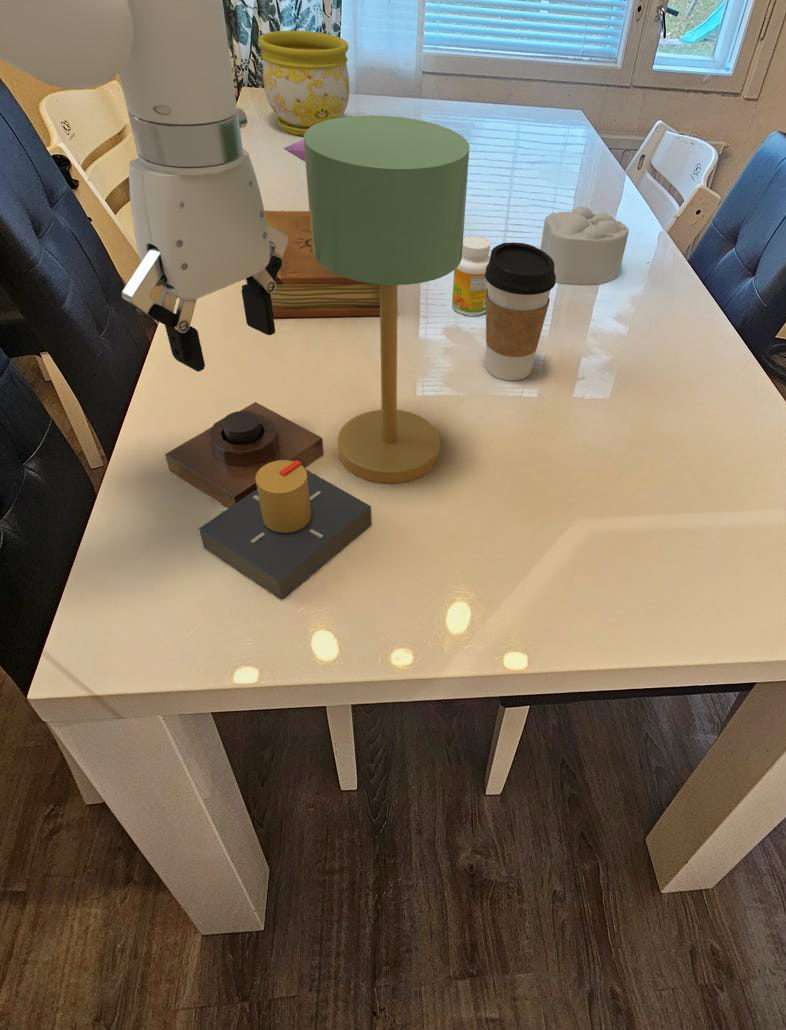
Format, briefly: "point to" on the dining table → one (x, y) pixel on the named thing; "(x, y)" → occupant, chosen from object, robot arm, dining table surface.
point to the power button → (242, 427)
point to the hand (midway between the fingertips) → (227, 345)
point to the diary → (314, 277)
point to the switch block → (241, 455)
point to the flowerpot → (304, 77)
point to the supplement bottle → (471, 277)
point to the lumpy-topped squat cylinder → (584, 246)
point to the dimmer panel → (286, 537)
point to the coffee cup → (516, 307)
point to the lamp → (387, 253)
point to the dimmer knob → (284, 496)
